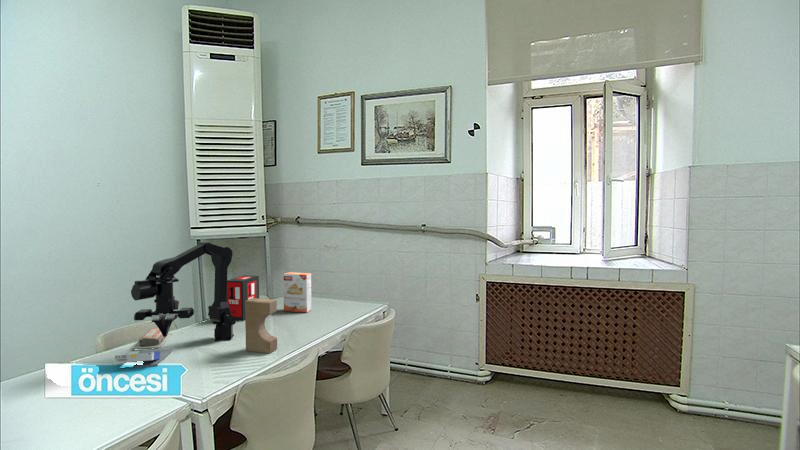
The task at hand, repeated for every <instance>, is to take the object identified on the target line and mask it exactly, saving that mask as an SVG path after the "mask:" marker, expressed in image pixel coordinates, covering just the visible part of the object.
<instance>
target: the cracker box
mask: <svg viewBox="0 0 800 450" xmlns="http://www.w3.org/2000/svg"><path fill="white" fill-rule="evenodd" d="M283 311H284V312H292V313H293V312H294V313H303V312H305V313H309V312H311V311H312V273H310V272H294V271H293V272H292V271H289V272H285V273H283Z"/></svg>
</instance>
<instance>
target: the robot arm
mask: <svg viewBox="0 0 800 450" xmlns="http://www.w3.org/2000/svg"><path fill="white" fill-rule="evenodd" d="M205 254H206V255H208V256H210V257H211V258H210V259H211V262H212V265H213V267H214V287H213V288H214V291H213V293H214V298H213V302H212V305H208V307H207V308H208V312H207V316H208V317H209V319H210V320H211V322H212V324H213V325H215V328H214V331H213V332H214V341H215V342H216V341H217V342H218V341H231V340H232V339H233V338H234V335H235V334H234V332H233V331H234V329H233V327H234V325H236V322H237V321H236V318H234V317H233V316H232V315H231V311H230V306H229V304H228V302H227V280H228V272H229V271H228V269H229V266H230V265H231V262H232V259H233V250H232V249H231V248H230V247H229V246H228V247H227V246H219V245H217V244H213V243H211V242H207V241H205V242H204V241H201V242H199V243H198V244H197V245H195V246H193V247H191V248H189V249H187V250H185V251H184V252H181V253H179V254H178V255H176V256H173V257H170V258H164V259H162V260H159V261H156V262H155V263H153V265H152V269H151V270H150V272H149V273H148V275H147V276H146V278H145V279H144V280H134V284H133V285H132V287H131V291H130V294H131V297H132V299H133V300H134V301H135V302H136V301H141V300H145V299H146V300H147V299H153V298H154V297H155V299H154V301H153V303H155V310H154V311H153V309H152V308H149V309H148V308H147V309H145V308H144V309H140V310H138V311H137V312H135V313H134V314H133V320H134V321H144V320H146V318H152V320H151V323H154V324H155V325H156V328H157V327H158V328H159V330H160V331H161V333H162V335H163V337H166V336H167V334H169V331H170V328H171V325H172V324H173V322H174V321H175V320H176V319H177V318H179V319H181V320H182V319H190V318H191V317H192V316H194V315H195V309H194V308H193V307H182V308H180V309H179V304H180V301H179V300H176V299H175V298H176V297H175V296H174V283H177V282H179V281H180V280H179V279H178V278H177V277H176V274H177V273H178V272H179V271H180V270H181V268H182V267H184V266H186V265H187V264H189V263H191V262H193V261H194V260H196V259H198V258H200V257H202V256H203V255H205Z"/></svg>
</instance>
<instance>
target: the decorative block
mask: <svg viewBox="0 0 800 450" xmlns="http://www.w3.org/2000/svg"><path fill="white" fill-rule="evenodd" d="M277 300H278V299H271V298H270V299H268V298H260V297H259V298H252V299H249V300H246V301H245V320H244V321H245V327H244V328H245V351H246V352H251V353H252V352H253V353H260V354H261V353H262V354H271V353H272V352H274V351H276V350H278V338H277V336H274V335H272V334H270V333H269V332H268V330H267V328H266V325H265V324H266V323H265V322H266V319H267V318H268V316H270V315H272V314H274V313H277V311H278V310H277V309H278V308H277V306H278V303H277Z"/></svg>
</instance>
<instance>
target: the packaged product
mask: <svg viewBox="0 0 800 450" xmlns="http://www.w3.org/2000/svg"><path fill="white" fill-rule="evenodd" d="M172 335H173V333H168V334H167V336H166V337H163V335H162V333H161V331H160V330H159V328H158V327H157V326H156V327H151V328H150V329H149V330H148V331H147V332H146V333H145V334H143V336H141V337H140V339H139V341H138V343H136V344H134V346H133V347H132V351H133V350H135V349H149V350H153V349H152V348H160V349H162V348H163V346H164V345H165V344H164V343H165V342H166V343H167V341H168V340H169V339H170V338H171V337H172Z"/></svg>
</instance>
